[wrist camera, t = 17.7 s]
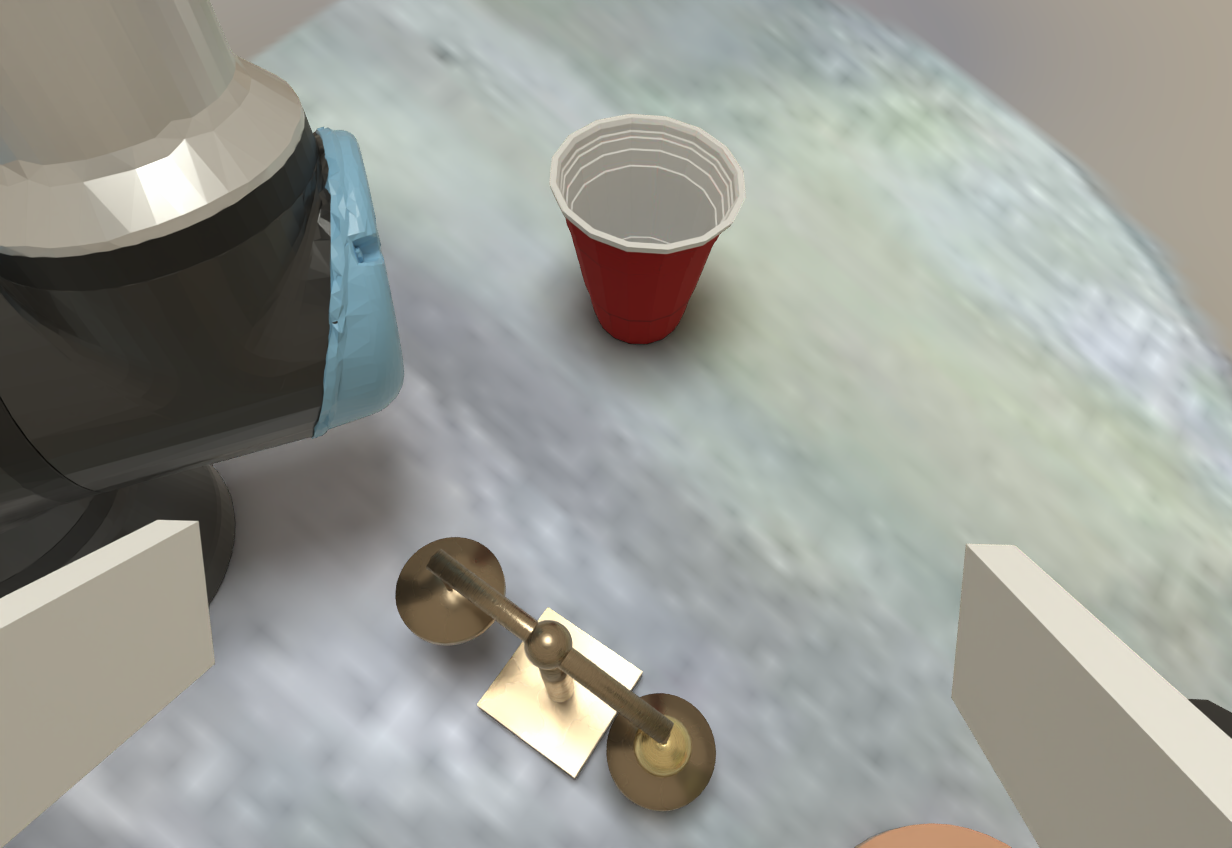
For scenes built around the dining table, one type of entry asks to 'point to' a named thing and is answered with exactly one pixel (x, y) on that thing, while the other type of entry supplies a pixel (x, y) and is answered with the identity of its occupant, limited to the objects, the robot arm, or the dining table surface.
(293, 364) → the robot arm
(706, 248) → the plastic cup
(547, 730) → the balance
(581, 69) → the dining table surface
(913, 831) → the dish
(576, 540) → the dining table surface
